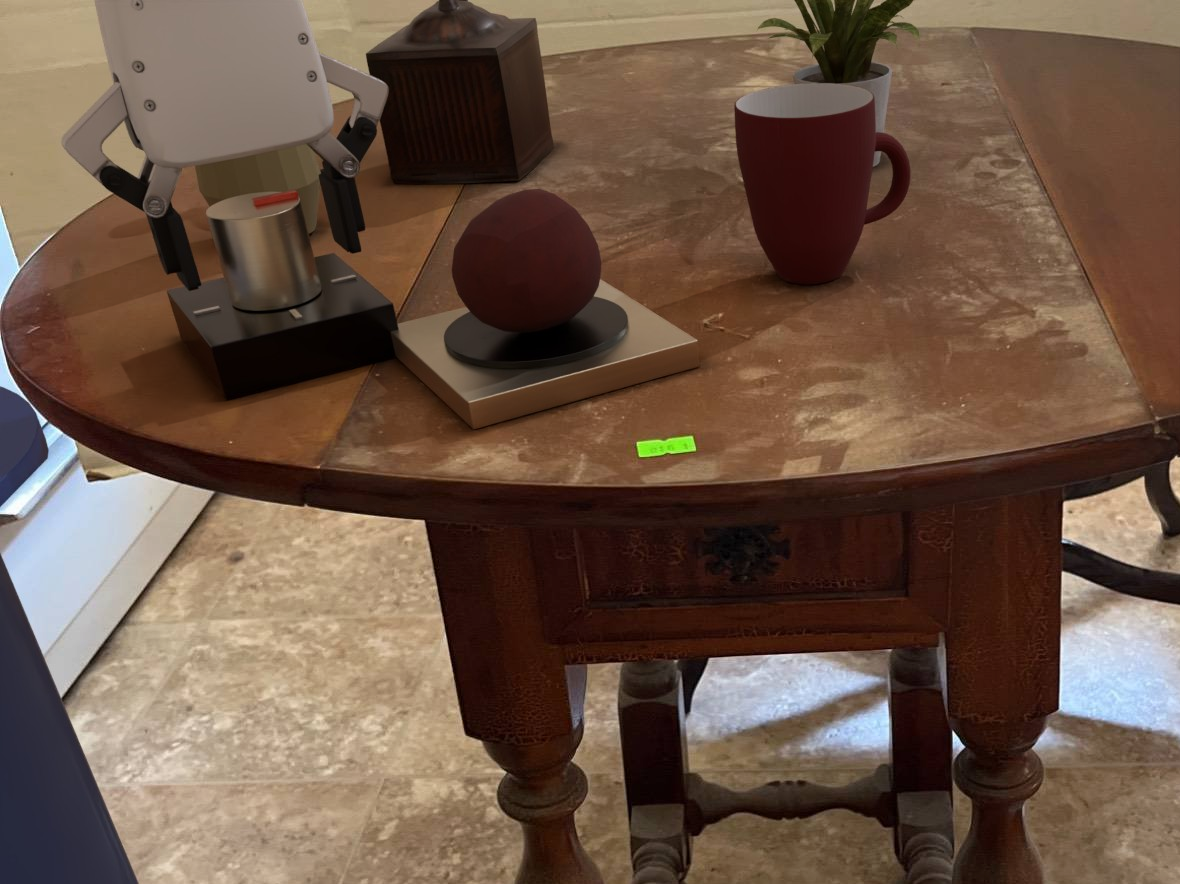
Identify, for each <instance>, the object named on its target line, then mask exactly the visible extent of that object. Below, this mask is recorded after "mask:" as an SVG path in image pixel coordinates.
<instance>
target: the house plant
mask: <svg viewBox="0 0 1180 884" xmlns="http://www.w3.org/2000/svg"><path fill="white" fill-rule="evenodd" d="M793 1H794V2H795V4H796V6H797V8H798V10H799V12H800V15H801V16H802V18H803V21H804V23H805V25H806V28H807V30H808V31H806V30H805V29H803V28H798V27H796V26H795V25H793V24H792V23H790V22H788V21H787V20H784V19H782V18H777V17H772V18H771V17H770V18H768V19H765V20H764V21H762V23H761V24H760V25H759V26H758V27H757V29H756V31H758V30H759V29H763V28H771V27H775V28H781V29H782V28H783V29H784V31H791V32H793V33H788V32H783V33H776V34H772V35H771V36H769V37H767V38H766V40H769V39H774V38H780V37H781V38H783V37H787V38H793V39H797V40H799V41H802V42H804V43H805V45H806V46H807V48H808V49H809V51H810V52H811V57H812V60H813V58H814V59H815V60H816V62H817V63H816V64H811V65H808V66H804V67H802V68H800V69H798V70H796V71H794V72H793V76H792V78H793V84H806V83H833V84H845V85H852V86H857V87H861V88H864V89H866V90H868V91H870V92H871V93H873V95H874V98H875V120H876V132H881V133H885V125H886V119H887V111H888V103H889V95H890V89H891V82H892V76H893V75H892V73H893V69H892V68H891V66H890V65H887V64H885V63H881V62H876V61H872V60H873V58H874V57H873V56H874V53H875V49H876V46H877V42H879V40H880V39H882V40H885V41H888V42H890V43H891V44H894V46H895V47H896V49H899V47H898V44H897V39H898V38H897V37H898V35H897V34H896V33H894V32H892V31H886V30H887V29H889V28H891V27H895V28H899V29H902V30H904V31H906V32H908V33H910V34H912V35H913V36H914V37H915V38H916V39H917V41H918V43H919V45H920V46H921V40H920V32H919V29H918V28H917V27H916V25H914V24H912V23H910V22H906V21H905V22H904V21H898V22H895V21H893V20H892V19H894V18H897V17H901V18H902V19H904V17H903V16H902V15H899V14H898V13H900V12H902V11H903V10H905V9H906V8H908V7H910V6H911V5H912V4H913V2H914V0H884V1H882V2H881V3H880V4H877V5H876V6H874V7H872V5H873V3H874V1H875V0H833V1H832V0H806V1H807V4H808V7H809V8H810V11H811V13H812V15H813V18H814V19H813V18H812V16H811V14H810V12H809V10H808V8H807V6H806V4H805V1H804V0H793ZM833 3H834V4H833ZM814 20H815V21H814ZM815 22H816V23H815ZM816 24H817V25H816ZM889 24H890V25H889ZM794 33H795V34H794ZM881 154H882V151H876V152H875V154H874V162H873V168H874V167H876V166H878V165H879V164H880V160H881Z"/></svg>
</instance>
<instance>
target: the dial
mask: <svg viewBox="0 0 1180 884" xmlns="http://www.w3.org/2000/svg"><path fill="white" fill-rule="evenodd" d="M205 216H206V218H207V222H208V225H209V228H210V233H211V236H212V239H213V244H214V247H215V251H216V254H217V259H218V261H219V265H220V268H221V273H222V276H223V277H224V279H225V283H226V287H227V290H228V294H229V297H230V301H231V303H232V305H233V306H234V307H236V308H238V309H242V310H247V311H271V310H278V309H284V308H289V307H292V306H296V305H299V304H302V303H305V302H307V301H309V300H311V299H313V298H314V297H316V296H317V295H318V294H319V293H320V292H321V284H320V279H319V275H318V271H317V267H316V263H315V259H314V257H315V254H314V251H313V246H312V243H311V238H310V234H308V230H307V226H306V221H305V217H304V213H303V209H302V205H301V201H300V198H299V197H298V192H297V191H296V190H290V191H285V192H259V193H251V194H245V195H240V196H236V197H232V198H228V199H225V200H223V201H220V202H218V203H216V204H214V205H212V206H210V207H209V206H208V208H207V209H206V210H205Z"/></svg>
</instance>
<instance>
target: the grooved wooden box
mask: <svg viewBox="0 0 1180 884" xmlns="http://www.w3.org/2000/svg"><path fill="white" fill-rule="evenodd" d="M365 59H366V64H367V69H368V74H369V75H371V76H374V77H376V78H378V79H380V80H381V81H383V82H385V83H386V84H387V86H388V89H389V93H388V97H387V100H386V103H385V106H384V109H383V112H382V115H381V118H380V121H379V124H380V128H381V132H382V133H381V134H382V137H383V142H384V147H385V151H386V156H387V162H388V167H389V173H390V179H391V181H392V183H393V184H404V185H405V184H406V185H430V184H431V185H433V184H435V185H438V184H475V183H499V182H500V183H501V182H519V181H521V179H523V178H525V176H527V175H529V173H530V172H532V170H534V169H535V167H536V166H538V164H539V163H540V162H541V161H542V160H543V159H544V158H545V157H546V156H547V155H548V154H549V153H550V152H551V151H552V150H553V149H554V147H555V144H554V138H553V133H552V127H551V121H550V120H551V119H550V112H549V111H550V110H549V103H548V97H547V89H546V82H545V74H544V67H543V60H542V53H541V46H540V39H539V32H538V22H537V19H536V17H520V18H509V17H508V16H506V15H503V14H498V13H493V12H490V11H489V10H486V9H485V8H483V7H481V6H479V5H476V4H474V3H473V2H472V1H469V0H437V1H436V2H435V3H434V4H432V5H430V6H429V7H427V8H425V9H424V10H423V11H421V12H420V13H419V14H417V15H416V16H415V17H414V18H413V19H412V20H411V22H409V24H407V25H405V26H404V27H401V28H400V29H399V30H398V31H397V30H396V32H394V33H393V34H391V35H390V36H388V37H387V38H385V39H384V40H382V41H381V42H379V43H378V44H376V45H375V46H374V47H372V48H371V49H370V50H369V51H367V52H366V53H365Z"/></svg>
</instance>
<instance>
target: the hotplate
mask: <svg viewBox="0 0 1180 884" xmlns="http://www.w3.org/2000/svg"><path fill="white" fill-rule="evenodd" d="M397 324H398V329H399V330H395V331H391V337H392V341H393V346H394V351H395V355H396V357H395V358H397V359H398V360H399V361H400V362H401V363H402V364H403V365H404V366H405V367H406V368H407V369H408V370H409V371H410V372H412V373H413V375H415V376H416V377H417V378H418V379H419V380H420V381H421V382H422V383H423V384H425V386H426V387H427V388H429V389H430V390H431V391H432V392H433V393H434V394H435V395H436V396H437V397H438V398H439V399H440V400H441V401H443V402H444V403H445V405H447V406H448V407H449V408H450V409H451V410H452V412H454V413H455V414H456V415H458V416H459V418H461V420H463V421H464V422H465V423H466V424H467V425H468V426H469V427H470V428H472V430H478V429H482V428H484V427H488V426H492V425H495V424H498V423H502V422H506V421H510V420H513V419H517V418H520V417H524V416H527V415H531V414H534V413H538V412H542V411H545V410H548V409H552V408H555V407H559V406H563V405H567V404H570V403H573V402H578V401H581V400H585V399H588V398H591V397H592V398H593V397H595V396H598V395H602V394H603V395H604V394H606V393H610V392H613V391H617V390H621V389H623V388H627V387H631V386H634V385H635V386H636V385H638V384H641V383H645V382H648V381H653V380H656V379H659V378H663V377H666V376H670V375H674V374H678V373H681V372H684V371H689V370H692V369H696V368H699V367H700V366H701V362H700V350H699V341H698V339H697V338H695V337H693V336H691V334H689V333H687V332H686V331H684V330H683V329H681V328H679V327H677V326H676V325H674V324H673V323H671V322H669V320H667V319H665V318H663V317H662V316H660V315H658V314H657V313H655V312H653V311H652V310H651V309H649V308H647V307H646V306H644V305H643V304H641V303H639V302H638V301H636V300H635V299H633V298H632V297H630V296H628V295H627V294H625V293H623V292H622V291H621V290H619V289H617V288H616V287H614V286H613V285H611V284H609V283H608V282H606V281H604V280H603V279H601V278H600V282H599V287H598V289H597V291H596V293H595V295H594V297H593V299H592V300H591V301H590V302H589V303H588V304H587V305H586V306H585V307H584V308H583V309H582V310H581V311H580V312H579V313H578V314H577V315H575V316H574V317H573V318H572V319H570V320H568V321H566V322H564V323H562V324H560V325H557V326H554V327H551V328H548V329H544V330H541V331H536V332H527V333H526V332H505V331H502V330H499V329H497V328H494V327H492V326H489V325H487V324H484V323H482V322H481V321H480V320H479V319H477V318H476V317H475V316H474V315H473V314H472V313H471V312H470V311H469V310H468V308H467V307H466V306H463V307H460V308H456V309H451V310H448V311H443V312H440V313H436V314H432V315H431V314H430V315H427V316H423V317H419V318H416V319H410V320H407V321H403V322H399V323H398V322H397Z"/></svg>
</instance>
